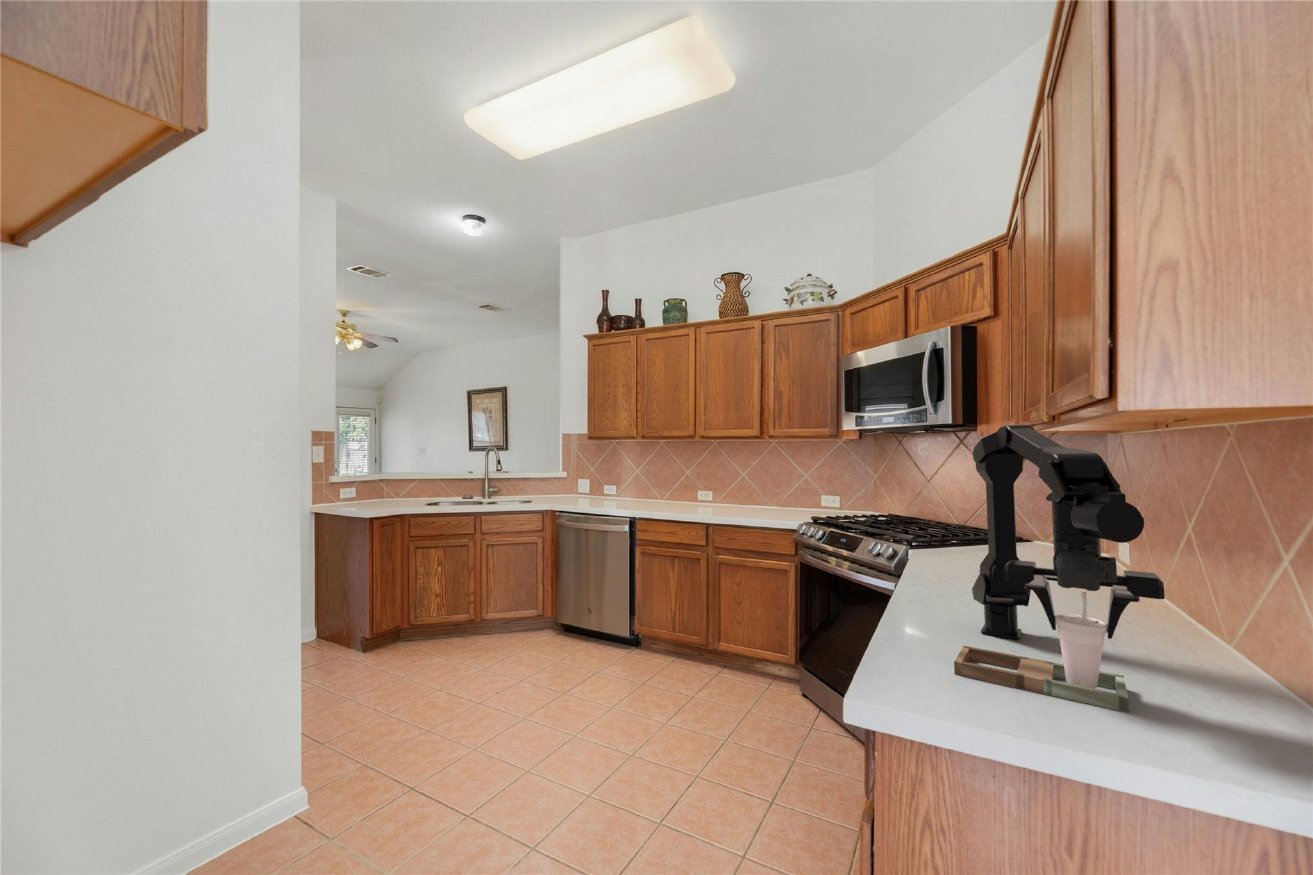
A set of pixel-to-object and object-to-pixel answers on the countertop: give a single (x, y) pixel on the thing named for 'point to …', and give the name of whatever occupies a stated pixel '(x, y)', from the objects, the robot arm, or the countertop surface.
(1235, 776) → the countertop surface
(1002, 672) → the caddy
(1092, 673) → the smoothie
